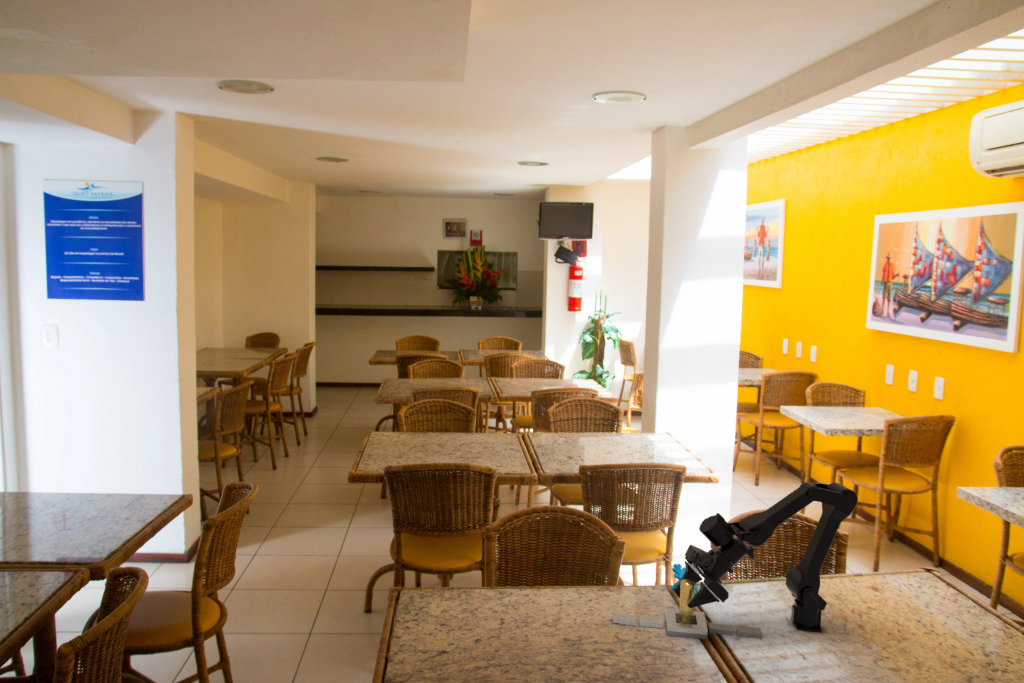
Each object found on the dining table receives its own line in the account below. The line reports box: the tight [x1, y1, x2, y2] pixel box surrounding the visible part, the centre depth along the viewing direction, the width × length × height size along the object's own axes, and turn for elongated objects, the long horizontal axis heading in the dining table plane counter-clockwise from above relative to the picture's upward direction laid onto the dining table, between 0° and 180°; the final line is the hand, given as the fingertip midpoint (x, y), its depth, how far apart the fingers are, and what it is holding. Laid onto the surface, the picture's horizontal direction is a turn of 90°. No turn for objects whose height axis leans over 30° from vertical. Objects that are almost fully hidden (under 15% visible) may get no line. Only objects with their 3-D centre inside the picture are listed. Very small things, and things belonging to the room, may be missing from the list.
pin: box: [678, 579, 696, 625], centre depth 184 cm, size 4×4×12 cm
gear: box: [671, 563, 699, 596], centre depth 207 cm, size 11×6×10 cm
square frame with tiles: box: [612, 608, 763, 640], centre depth 184 cm, size 38×10×2 cm, turn 80°
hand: (682, 598), depth 184 cm, fingers open, 9 cm apart
